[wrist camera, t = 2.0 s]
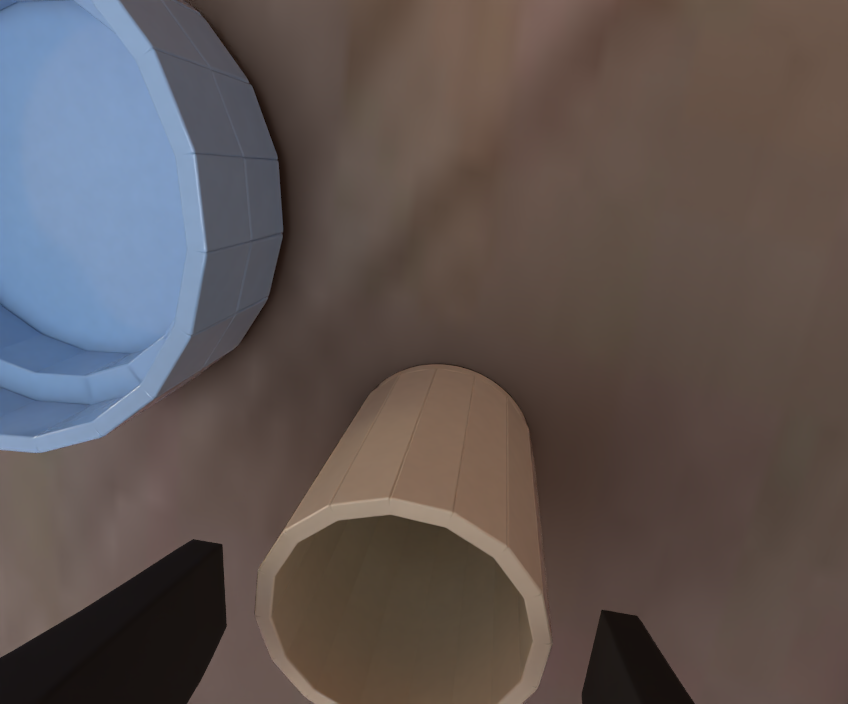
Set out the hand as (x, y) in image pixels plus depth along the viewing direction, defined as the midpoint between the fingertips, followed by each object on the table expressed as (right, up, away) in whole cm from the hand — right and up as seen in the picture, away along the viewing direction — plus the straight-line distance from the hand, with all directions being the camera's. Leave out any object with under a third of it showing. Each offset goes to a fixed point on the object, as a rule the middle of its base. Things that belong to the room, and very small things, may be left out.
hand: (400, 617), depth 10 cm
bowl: (-9, +10, +5) cm, 14 cm away
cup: (+1, +2, +6) cm, 7 cm away
